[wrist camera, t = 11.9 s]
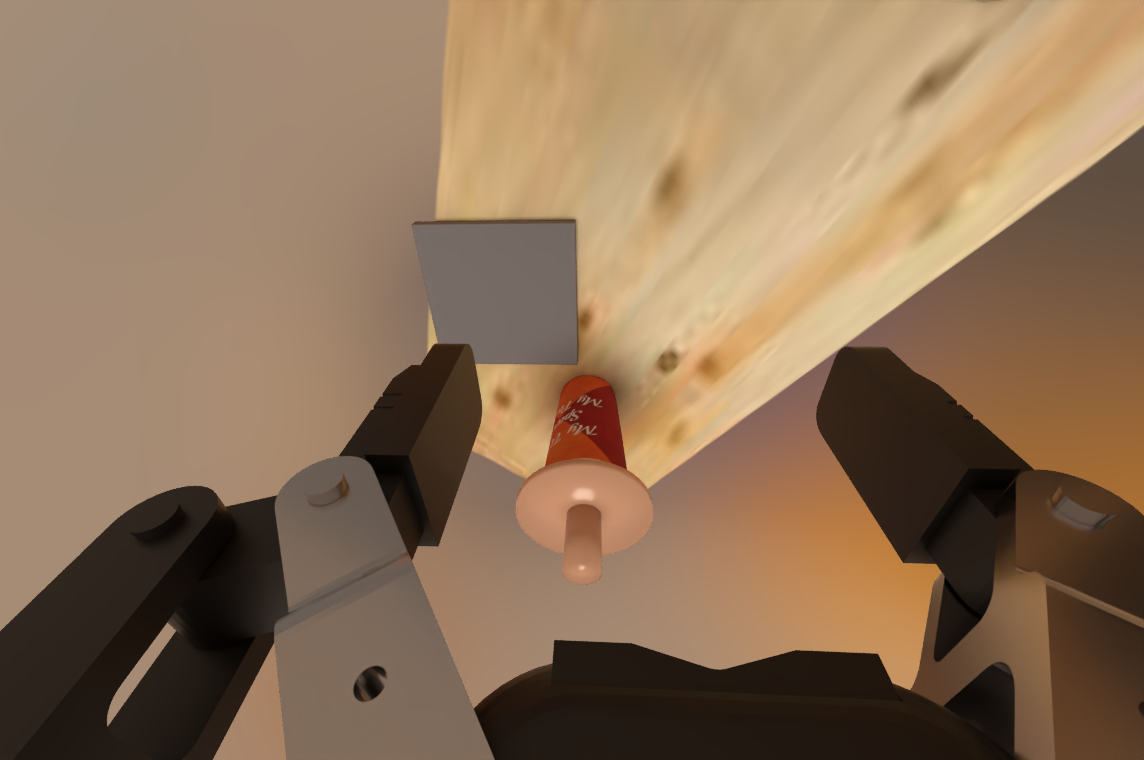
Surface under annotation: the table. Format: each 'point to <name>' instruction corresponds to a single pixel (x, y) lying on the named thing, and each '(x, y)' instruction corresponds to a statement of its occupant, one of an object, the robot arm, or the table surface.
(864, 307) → the table surface
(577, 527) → the lid
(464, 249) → the mat
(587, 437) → the coffee cup
